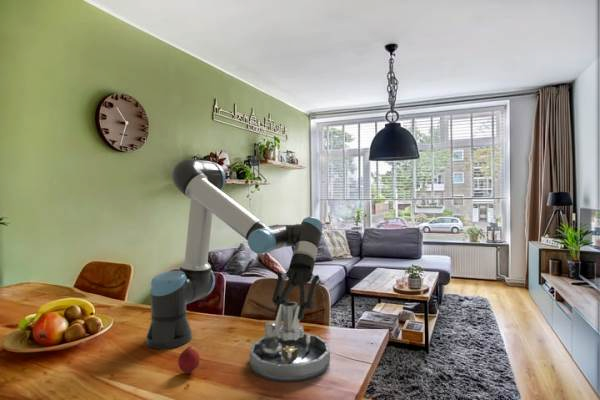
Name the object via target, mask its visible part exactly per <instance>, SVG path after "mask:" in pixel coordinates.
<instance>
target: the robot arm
mask: <svg viewBox="0 0 600 400" xmlns="http://www.w3.org/2000/svg"><path fill="white" fill-rule="evenodd" d="M171 179H172V182H173V184H174V186H175V188H176V189H177V190H178V191H179V192H181V194H183V195H184V196H185V197H187V198H188V199H190V203H189V211H188V212H189V214H188V221H187V222H188V223H187V235H186V244H185V253H184V254H185V256H184V261H183V262H182V263H180V265H179V270H170V271H165V272H161V273H159V274H157V275H155V276H154V277H153V278H152V279H151V282H150V310H151V312H150V314H151V317H150V319H151V320H150V324H149V328H148V331H147V333H146V336H145V337H146V338H145V344H146V346H147V347H148V348H152V349H156V350H157V349H158V350H166V349H172V348H177V347H180V346H183V345H185V344H187V343H188V342H190V341H191V340H192V337H193V334H192V328H191V326H190V323H189V320H188V317H187V305H189V304H191V303H193V302H195V301H198V300H201V299H204V298H205V297H207V296H208V295H210V294H211V293H212V292H213V290H214V288H215V285H216V276H215V274H214V272H213V270H212V265H211V264H210V263H209V262H208V260H209V250H210V244H211V243H210V241H211V231H212V221H213V215H215V216H216V217H217V218H218V219H219V220H221V221H222V222H223V223H225V224H226V225H227V226H229V228H231V229H232V230H234V231H235V232H236V233H237V234H239V235H240V236H241V237H242V238H244V239H245V240H246V241H247V244H248V248H249V249H250V250H251V251H252V252H253V253H254V254H257V255H261V254H262V255H263V254H269V253H270V252H273V251H275V250H279V249H282V248H285V247H287V248H288V247H294V249H293V252H292V256H291V260H290V263H289V266H288V267H289V268H288V269H287V270H286V272H285V273H281V272H278V273H277V281H276V284H275V289H274V292H273V296H272V299H271V300H272V303H273V304H274V306H276V308H275V312H274V316H275V321H274V322H275V324H274V326H275V328H276V329H277V330H280V326H282V324H283V303H285V302H288V301H287V300H288V299H289V296H290V295H291V293H292V291H293V290H294V288H295V287H297V286H298V287H299V305H297V308H296V312H295V316H294V320H293V324H292V329H293V331H294V332H297V329H298V325H299V324H300V321H303V319H304V316H305V312H306V310H307V309H313V305H314V303H315V298H316V293H317V289H318V286H319V284H320V283H321V278H320V276H319V275H318V274H313V272H314V267H315V264H316V263H315V262H316V259H317V255H318V250H319V245H320V242H321V238H322V236H323V223H322V222H321V220H320V219H319V218H317V217H314V216H307V217H305V218H303V219H302V221H301V223H299V224H272V225H267V224H265V223H264V222H263V221H261V220H260V219H258V217H256V216H255V215H253V214H252V213H251V212H250V211H248V210H247V209H245V207H243V206H241V204H239V203H237V202H236V201H235V200H234V199H233V198H231V197H230V196H228V195H227V194H226V193H225V192H223V191H222V189H223V188H224V187H225V184H226V172H225V170H224V169H223V167H222V166H221V165H220V164H218V163H217V162H214V161H210V160H202V159H194V158H185V159H183V160H180V161H179V162H177V163H176V164H175V166H174V167H173V169H172V172H171ZM286 279H287V282H286V285H285V287H284V284H285V281H286ZM310 281H311V283H310V287H309V290H308V295H307V284H308V283H309V282H310ZM283 287H284V288H283ZM299 326H300V325H299Z"/></svg>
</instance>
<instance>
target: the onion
mask: <svg viewBox="0 0 600 400" xmlns="http://www.w3.org/2000/svg"><path fill="white" fill-rule="evenodd" d="M192 347H193V346H192V345H190V344H189V345H187V346H186V349H184V350H183V351H181V353H180V354H179V357H178V361H177V363H178V367H179V369H180V370H181V371H182V372H184V373H186V374H191V373H192V372H193V371H195V369H197V367H199V364H200V354H199V353H198V352H197V350H195V348H192Z"/></svg>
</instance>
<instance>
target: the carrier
mask: <svg viewBox="0 0 600 400" xmlns="http://www.w3.org/2000/svg"><path fill="white" fill-rule="evenodd" d="M274 324H275V321H268V322H265V324H264V335H263V336H262V337H260V338H259V339H257V340H255V341H254V342H253V343H251V347H250V350H249V363H250V368H251V370H252V372H253V373H254V374H255V375H257V376H258V377H259V378H262V379H264V380H267V381H271V382H278V383H298V382H299V383H301V382H304V381H309V380H312V379H315V378H318V377H319V376H322V375H323V374H324V373H326V371H327V370H329V366H330V362H331V351H330V346H329V341H327V340H326V339H323V338H321V337H320V336H318V335H315V334H311V333H306V332H304V337H303V338H301V337H300V338H298V339H297V340H287V341H286V340H283V339H282V338H278V337H277V329H276V328H275V326H274Z"/></svg>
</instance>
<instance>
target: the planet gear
mask: <svg viewBox="0 0 600 400" xmlns="http://www.w3.org/2000/svg"><path fill="white" fill-rule="evenodd" d="M297 306H298V302H295V301H286V302H285V303H283V319H282V325H281V326H280V330H277V337H278V338H282V339H283V340H286V341H287V340H297V339H298V338H300V337H301V338H303V337H304V333H305V329H304V326H303V325H298V329H297V332H294V331H293V329H292V324H293V320H294V316H295V312H296V308H297Z"/></svg>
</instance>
